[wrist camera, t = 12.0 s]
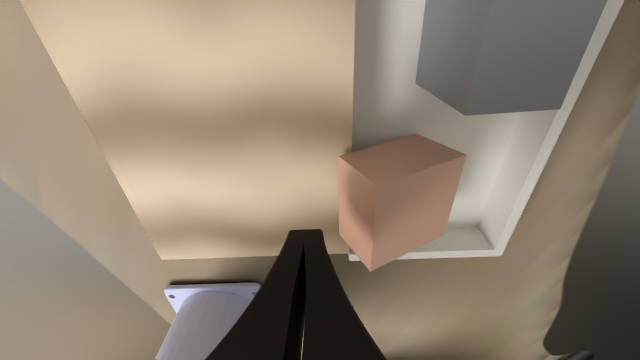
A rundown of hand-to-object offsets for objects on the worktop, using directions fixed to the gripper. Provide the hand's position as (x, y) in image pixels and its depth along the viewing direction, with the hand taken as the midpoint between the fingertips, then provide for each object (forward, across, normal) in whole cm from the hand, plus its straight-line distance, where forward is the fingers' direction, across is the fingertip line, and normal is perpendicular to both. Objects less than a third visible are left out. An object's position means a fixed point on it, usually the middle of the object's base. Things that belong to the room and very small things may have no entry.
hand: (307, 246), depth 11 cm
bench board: (+6, +4, -4) cm, 8 cm away
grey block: (+3, -5, -8) cm, 10 cm away
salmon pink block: (+4, -4, 0) cm, 6 cm away
